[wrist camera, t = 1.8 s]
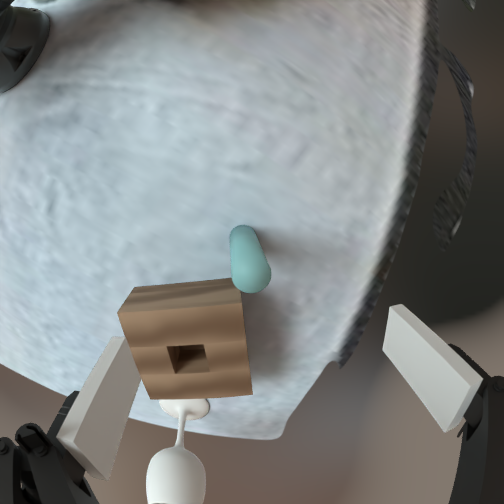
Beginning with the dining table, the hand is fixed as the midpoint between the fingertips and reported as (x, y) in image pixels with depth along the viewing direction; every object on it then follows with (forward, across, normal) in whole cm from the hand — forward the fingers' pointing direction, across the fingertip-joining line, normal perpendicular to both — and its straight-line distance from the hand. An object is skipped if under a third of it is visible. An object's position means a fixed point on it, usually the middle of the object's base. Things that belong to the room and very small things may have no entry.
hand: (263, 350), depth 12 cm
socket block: (+22, -8, -12) cm, 27 cm away
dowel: (+22, 0, 0) cm, 22 cm away
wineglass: (+23, -13, -28) cm, 38 cm away
